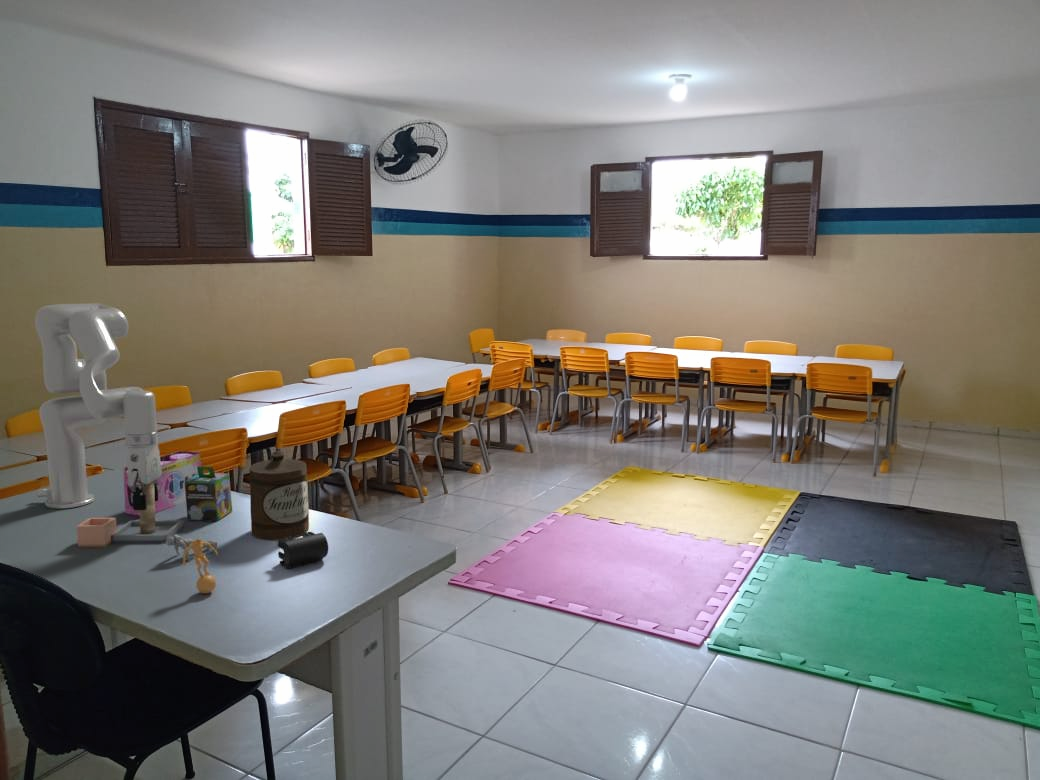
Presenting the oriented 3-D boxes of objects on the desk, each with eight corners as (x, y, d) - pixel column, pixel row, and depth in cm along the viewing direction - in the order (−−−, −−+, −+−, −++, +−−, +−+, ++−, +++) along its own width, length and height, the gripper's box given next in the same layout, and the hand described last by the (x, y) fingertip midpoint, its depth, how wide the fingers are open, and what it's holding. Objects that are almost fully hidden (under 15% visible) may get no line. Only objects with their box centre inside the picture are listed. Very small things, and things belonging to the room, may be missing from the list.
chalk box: (232, 511, 225) (230, 461, 222) (217, 522, 216) (214, 470, 213) (202, 510, 226) (199, 460, 223) (185, 520, 217) (182, 469, 214)
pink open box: (78, 547, 195) (76, 526, 194) (91, 538, 202) (89, 517, 201) (105, 547, 196) (103, 526, 195) (117, 538, 202) (115, 517, 201)
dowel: (137, 533, 203) (136, 477, 201) (143, 529, 207) (142, 474, 205) (151, 534, 203) (150, 478, 202) (157, 529, 207) (156, 474, 205)
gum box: (142, 518, 218) (139, 471, 216) (120, 515, 220) (117, 468, 218) (203, 495, 240) (201, 452, 238) (183, 492, 243) (180, 450, 241)
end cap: (290, 573, 181) (289, 545, 180) (276, 564, 186) (275, 537, 185) (329, 562, 188) (328, 535, 187) (315, 554, 193) (314, 528, 192)
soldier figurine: (202, 557, 196) (157, 553, 187) (208, 536, 197) (163, 531, 188) (215, 563, 192) (169, 559, 183) (221, 542, 193) (175, 537, 184)
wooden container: (273, 544, 199) (270, 461, 195) (240, 532, 208) (236, 452, 204) (320, 529, 211) (318, 450, 207) (286, 518, 219) (284, 442, 216)
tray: (110, 542, 199) (109, 535, 199) (130, 526, 211) (130, 520, 210) (166, 542, 200) (165, 535, 199) (183, 526, 212) (183, 520, 211)
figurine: (195, 601, 165) (192, 547, 163) (178, 594, 168) (175, 541, 167) (228, 588, 172) (226, 536, 170) (211, 582, 175) (209, 531, 173)
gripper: (142, 446, 193) (146, 515, 196) (169, 431, 210) (173, 495, 213) (111, 446, 192) (116, 516, 195) (141, 431, 209) (145, 495, 212)
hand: (146, 504), depth 204 cm, fingers open, 6 cm apart
